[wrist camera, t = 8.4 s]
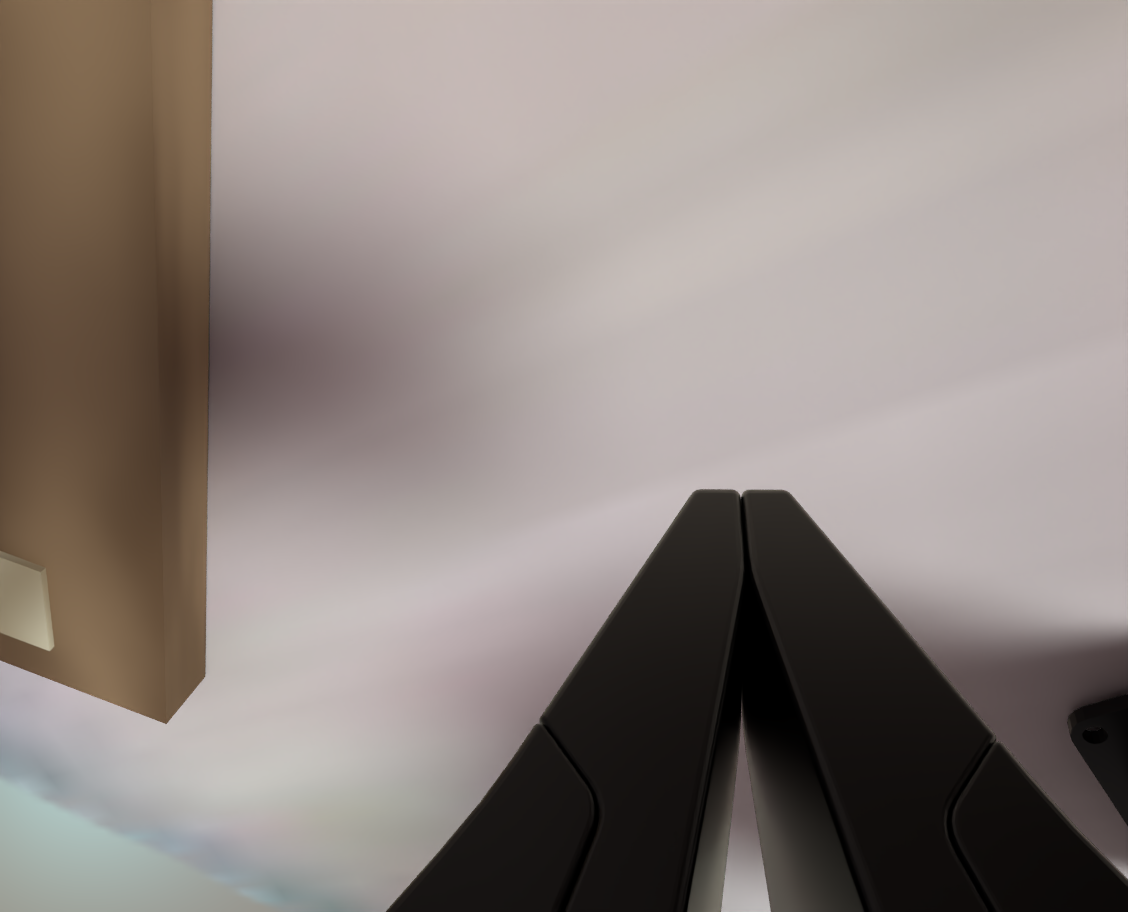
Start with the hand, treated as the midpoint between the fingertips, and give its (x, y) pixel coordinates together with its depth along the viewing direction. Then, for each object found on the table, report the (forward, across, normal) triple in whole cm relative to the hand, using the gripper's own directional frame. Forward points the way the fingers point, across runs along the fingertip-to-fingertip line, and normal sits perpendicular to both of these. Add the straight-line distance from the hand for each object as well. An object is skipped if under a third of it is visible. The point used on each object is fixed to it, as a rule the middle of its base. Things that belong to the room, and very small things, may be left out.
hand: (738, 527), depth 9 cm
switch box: (+14, +18, +5) cm, 23 cm away
